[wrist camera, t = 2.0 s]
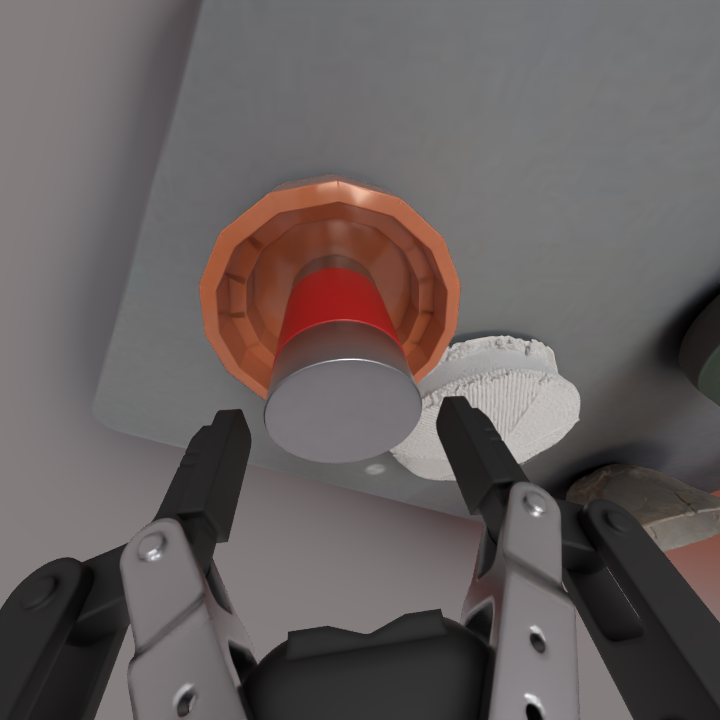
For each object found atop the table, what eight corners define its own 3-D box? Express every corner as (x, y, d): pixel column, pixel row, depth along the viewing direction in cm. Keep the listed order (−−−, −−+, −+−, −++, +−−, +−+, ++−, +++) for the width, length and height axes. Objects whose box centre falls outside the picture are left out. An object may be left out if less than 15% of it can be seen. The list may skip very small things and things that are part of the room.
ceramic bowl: (580, 510, 55) (623, 569, 48) (504, 500, 47) (540, 569, 39) (697, 452, 44) (778, 517, 36) (621, 425, 36) (705, 502, 28)
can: (274, 310, 19) (235, 441, 10) (320, 233, 16) (317, 325, 8) (345, 348, 22) (361, 475, 13) (395, 287, 19) (456, 400, 10)
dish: (197, 321, 19) (166, 364, 16) (291, 103, 13) (278, 83, 9) (356, 391, 26) (362, 434, 22) (471, 270, 19) (509, 299, 16)
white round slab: (580, 395, 30) (634, 447, 25) (439, 471, 38) (458, 524, 33) (508, 282, 20) (574, 328, 15) (336, 416, 28) (339, 478, 23)
